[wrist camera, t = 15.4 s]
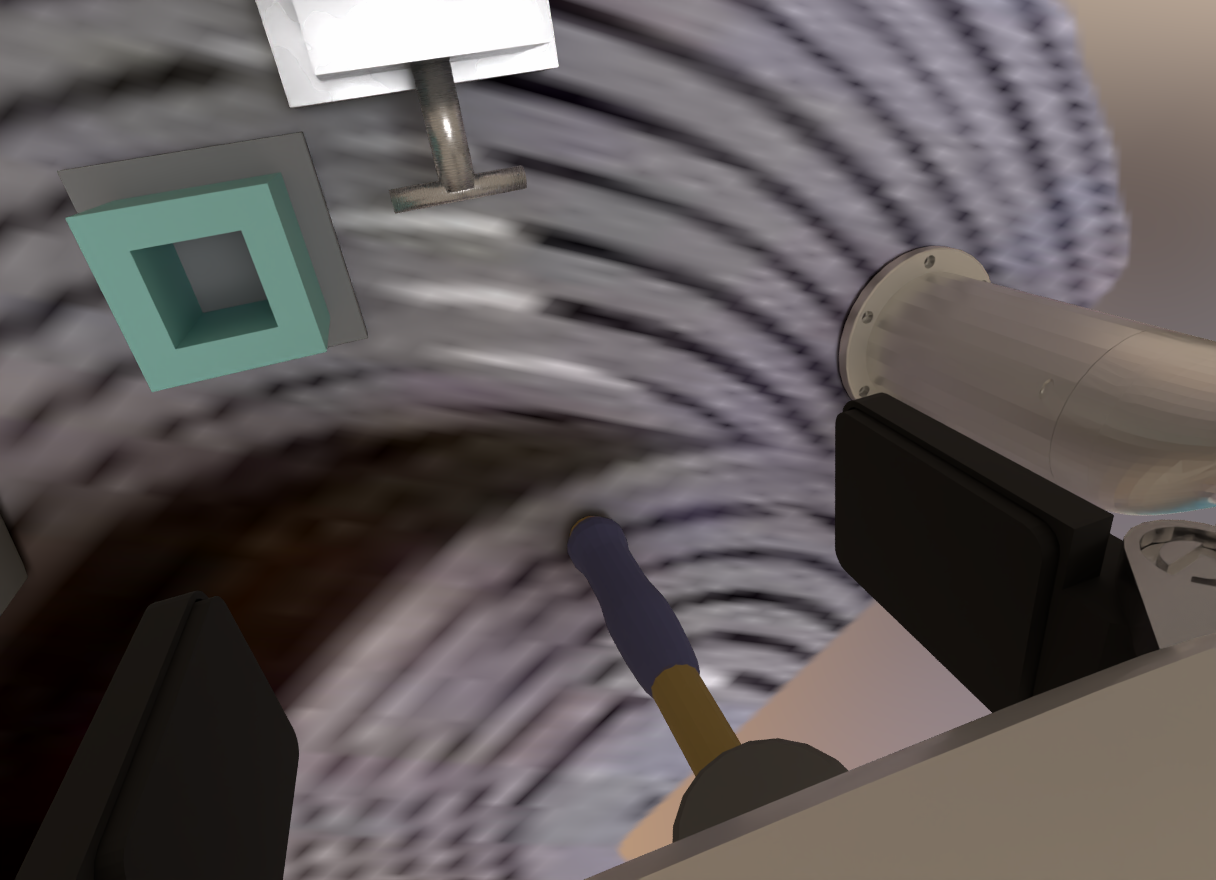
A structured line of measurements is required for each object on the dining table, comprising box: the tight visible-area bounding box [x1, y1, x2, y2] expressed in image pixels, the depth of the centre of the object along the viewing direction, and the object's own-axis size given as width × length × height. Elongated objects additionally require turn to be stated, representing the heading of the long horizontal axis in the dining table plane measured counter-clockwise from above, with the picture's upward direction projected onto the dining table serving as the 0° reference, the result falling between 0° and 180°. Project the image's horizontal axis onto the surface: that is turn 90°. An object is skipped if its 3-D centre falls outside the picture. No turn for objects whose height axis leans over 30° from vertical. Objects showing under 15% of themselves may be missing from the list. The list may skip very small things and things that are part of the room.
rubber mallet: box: [567, 516, 848, 843], centre depth 34 cm, size 12×8×30 cm, turn 21°
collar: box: [65, 172, 330, 392], centre depth 30 cm, size 7×7×6 cm
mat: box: [57, 132, 368, 347], centre depth 33 cm, size 10×10×1 cm
